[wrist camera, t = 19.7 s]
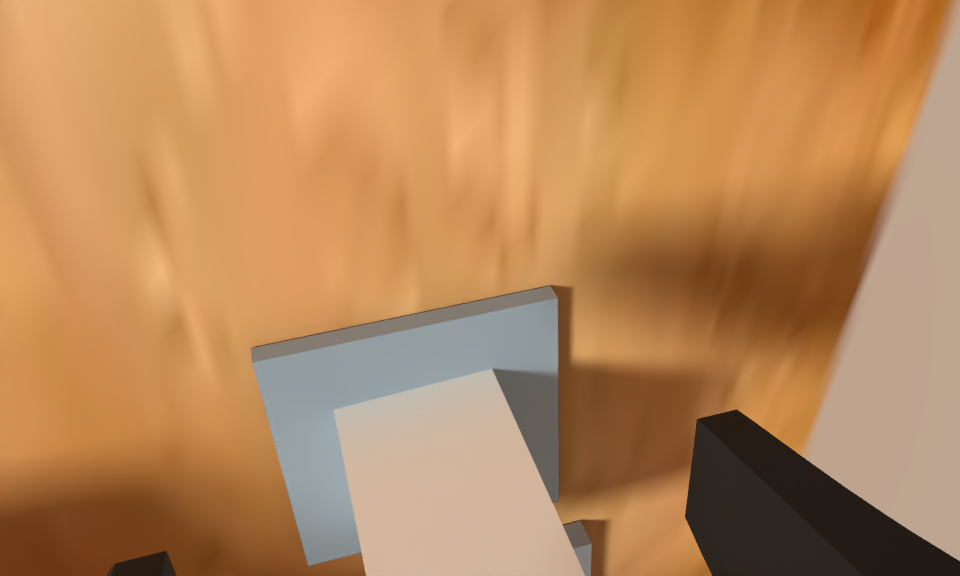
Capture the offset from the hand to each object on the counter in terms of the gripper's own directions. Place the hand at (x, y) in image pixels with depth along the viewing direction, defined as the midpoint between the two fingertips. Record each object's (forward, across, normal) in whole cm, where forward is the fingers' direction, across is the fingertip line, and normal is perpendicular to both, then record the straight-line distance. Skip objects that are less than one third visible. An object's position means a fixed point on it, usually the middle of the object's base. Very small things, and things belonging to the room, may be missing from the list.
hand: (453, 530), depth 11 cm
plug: (+10, -1, +8) cm, 13 cm away
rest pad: (+10, -1, +8) cm, 13 cm away
